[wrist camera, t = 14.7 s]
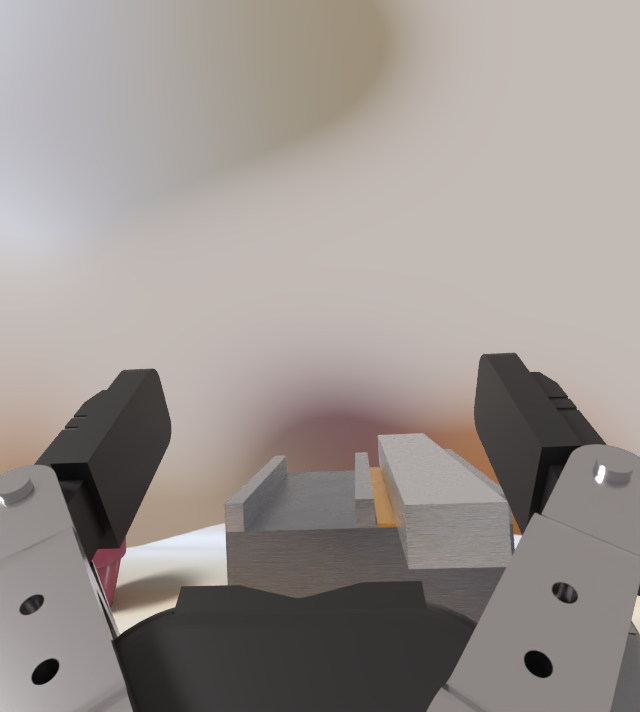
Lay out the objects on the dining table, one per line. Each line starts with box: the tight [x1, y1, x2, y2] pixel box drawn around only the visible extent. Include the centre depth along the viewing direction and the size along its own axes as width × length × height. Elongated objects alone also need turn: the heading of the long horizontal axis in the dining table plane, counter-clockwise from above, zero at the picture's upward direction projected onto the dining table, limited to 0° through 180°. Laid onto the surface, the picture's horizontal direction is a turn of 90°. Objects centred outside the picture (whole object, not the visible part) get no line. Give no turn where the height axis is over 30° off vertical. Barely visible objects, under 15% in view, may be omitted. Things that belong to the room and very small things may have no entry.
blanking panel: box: [378, 433, 512, 569], centre depth 31 cm, size 24×4×2 cm, turn 176°
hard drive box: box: [610, 621, 640, 712], centre depth 44 cm, size 16×8×20 cm, turn 162°
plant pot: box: [92, 536, 126, 607], centre depth 89 cm, size 14×14×13 cm
